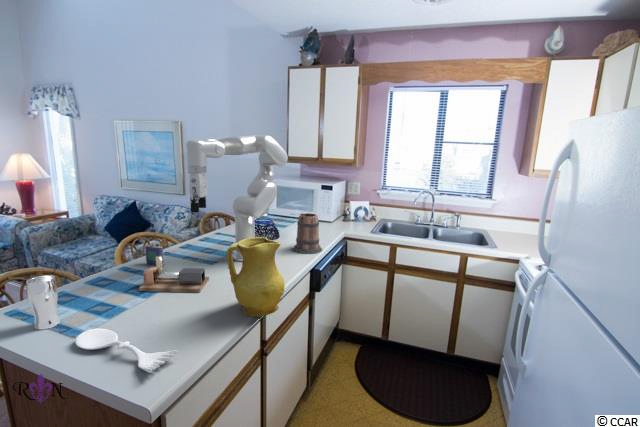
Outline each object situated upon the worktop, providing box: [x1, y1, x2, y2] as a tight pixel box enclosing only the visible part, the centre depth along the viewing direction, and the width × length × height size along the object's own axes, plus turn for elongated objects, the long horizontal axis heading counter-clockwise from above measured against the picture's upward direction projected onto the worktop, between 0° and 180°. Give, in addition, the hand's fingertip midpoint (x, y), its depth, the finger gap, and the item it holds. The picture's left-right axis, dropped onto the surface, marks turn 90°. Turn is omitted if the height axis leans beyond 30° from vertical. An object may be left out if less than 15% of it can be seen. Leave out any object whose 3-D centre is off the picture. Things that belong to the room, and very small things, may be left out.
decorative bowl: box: [254, 213, 281, 241], centre depth 205 cm, size 20×20×14 cm
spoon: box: [74, 327, 180, 374], centre depth 89 cm, size 9×32×4 cm, turn 67°
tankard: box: [292, 212, 323, 255], centre depth 185 cm, size 24×17×20 cm
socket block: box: [143, 267, 157, 284], centre depth 130 cm, size 4×5×5 cm
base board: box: [138, 276, 210, 293], centre depth 132 cm, size 23×12×2 cm, turn 92°
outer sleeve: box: [179, 267, 206, 285], centre depth 131 cm, size 8×5×5 cm, turn 92°
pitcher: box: [226, 236, 285, 318], centre depth 114 cm, size 17×19×25 cm
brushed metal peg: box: [153, 256, 180, 280], centre depth 130 cm, size 15×3×10 cm, turn 92°
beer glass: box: [25, 274, 61, 331], centre depth 100 cm, size 7×7×15 cm
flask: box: [145, 242, 165, 267], centre depth 152 cm, size 9×3×11 cm, turn 74°
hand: (198, 209), depth 141 cm, fingers open, 9 cm apart
